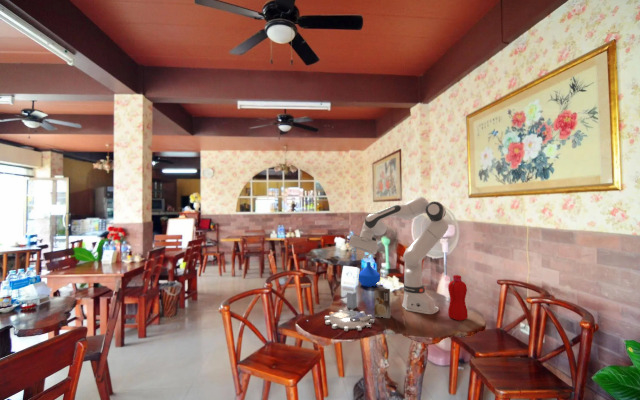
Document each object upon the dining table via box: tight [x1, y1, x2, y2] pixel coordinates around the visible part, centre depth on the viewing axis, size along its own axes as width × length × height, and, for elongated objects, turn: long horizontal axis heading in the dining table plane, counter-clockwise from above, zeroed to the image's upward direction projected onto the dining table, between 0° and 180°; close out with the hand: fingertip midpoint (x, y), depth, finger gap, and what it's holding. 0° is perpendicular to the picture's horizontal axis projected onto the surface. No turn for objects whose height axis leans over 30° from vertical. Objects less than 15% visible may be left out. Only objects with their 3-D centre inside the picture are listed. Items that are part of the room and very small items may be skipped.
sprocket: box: [324, 308, 375, 332], centre depth 177 cm, size 29×29×2 cm
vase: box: [358, 261, 381, 288], centre depth 251 cm, size 18×18×19 cm
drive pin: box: [346, 290, 358, 310], centre depth 199 cm, size 4×4×10 cm
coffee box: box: [373, 287, 392, 319], centre depth 184 cm, size 9×6×16 cm
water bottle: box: [447, 274, 469, 322], centre depth 179 cm, size 9×11×25 cm
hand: (360, 255), depth 208 cm, fingers open, 8 cm apart
